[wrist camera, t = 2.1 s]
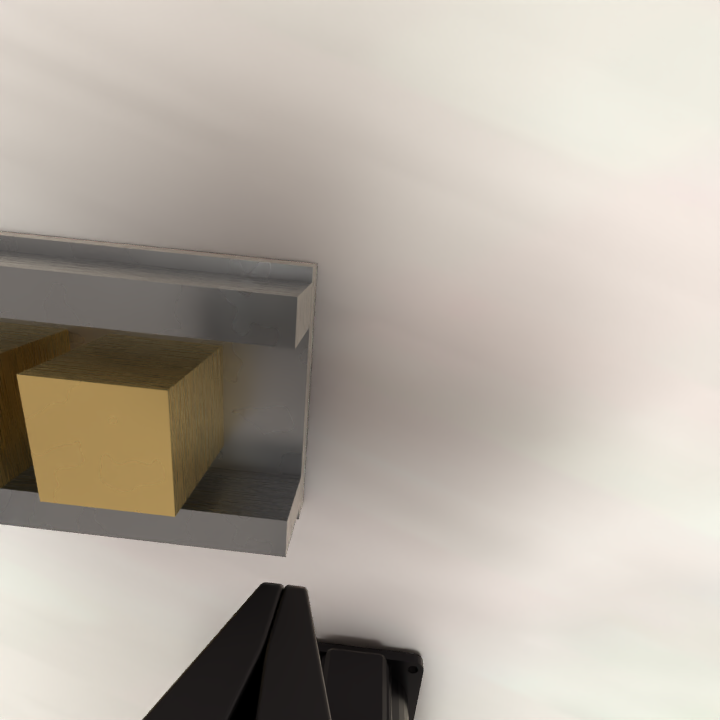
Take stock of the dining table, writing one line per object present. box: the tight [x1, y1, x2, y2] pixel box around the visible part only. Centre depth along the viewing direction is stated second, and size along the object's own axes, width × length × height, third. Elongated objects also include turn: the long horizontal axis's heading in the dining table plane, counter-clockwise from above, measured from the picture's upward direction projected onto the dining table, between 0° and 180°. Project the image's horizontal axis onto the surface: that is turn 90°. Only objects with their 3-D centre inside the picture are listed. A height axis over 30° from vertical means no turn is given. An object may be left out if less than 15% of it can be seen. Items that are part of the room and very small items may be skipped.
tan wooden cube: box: [16, 334, 224, 517], centre depth 14 cm, size 4×4×4 cm
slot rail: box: [0, 231, 317, 557], centre depth 15 cm, size 10×17×4 cm, turn 85°
